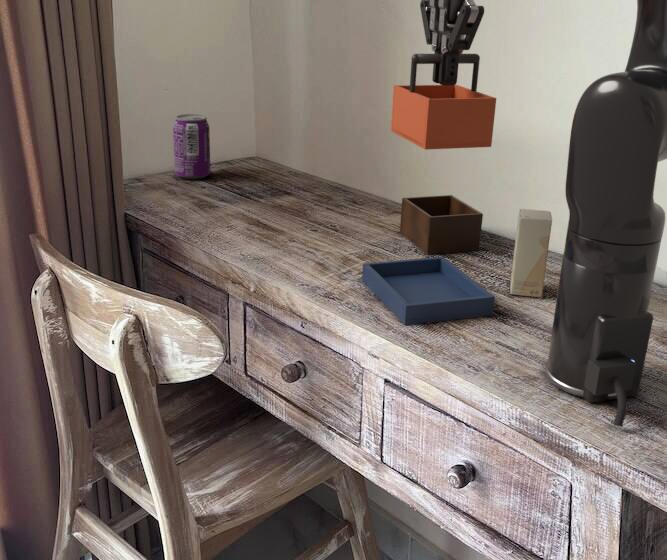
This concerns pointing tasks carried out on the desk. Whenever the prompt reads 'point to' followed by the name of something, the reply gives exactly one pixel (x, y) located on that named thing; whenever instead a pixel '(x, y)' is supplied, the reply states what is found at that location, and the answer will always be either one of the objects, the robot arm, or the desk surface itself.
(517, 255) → the box
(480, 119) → the top basket
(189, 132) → the beverage can
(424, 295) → the tray
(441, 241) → the box
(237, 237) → the desk surface
